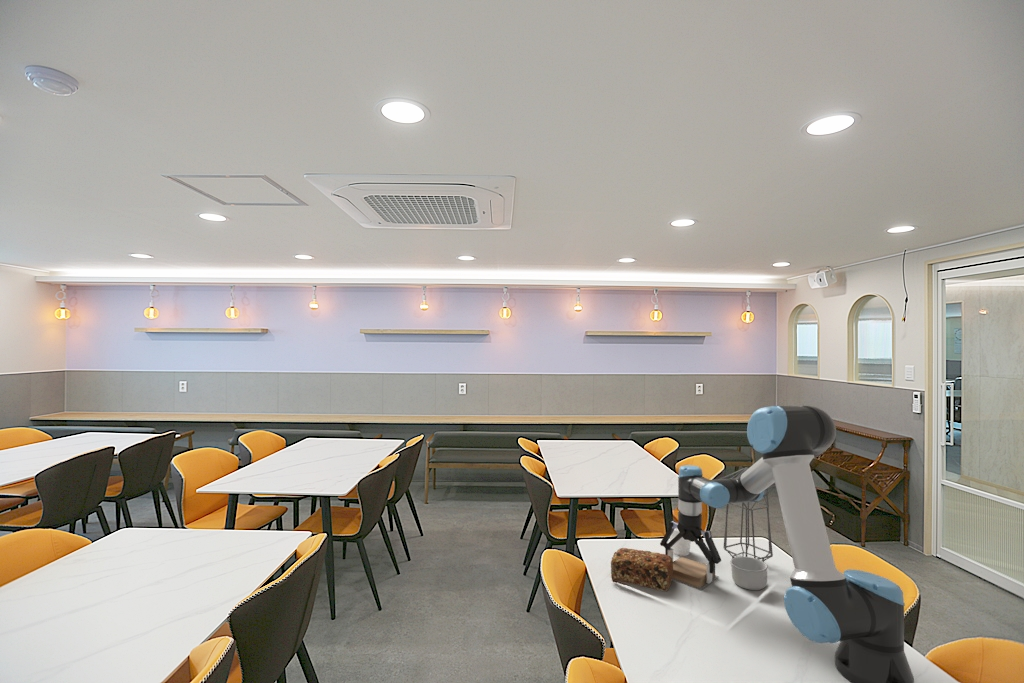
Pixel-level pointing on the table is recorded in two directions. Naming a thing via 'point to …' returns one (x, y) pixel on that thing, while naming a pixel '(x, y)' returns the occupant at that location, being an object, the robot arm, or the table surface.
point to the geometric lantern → (748, 523)
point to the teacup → (749, 572)
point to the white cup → (680, 544)
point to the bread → (642, 568)
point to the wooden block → (690, 572)
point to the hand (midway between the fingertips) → (689, 575)
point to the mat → (697, 587)
